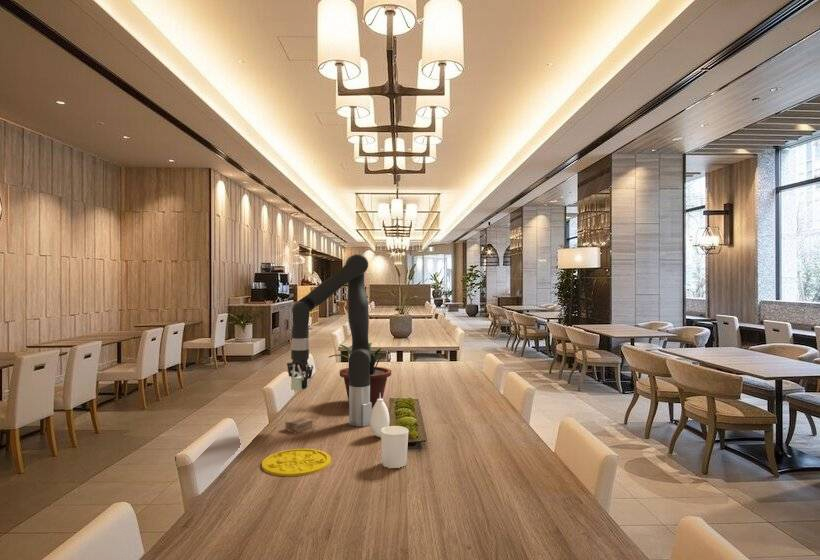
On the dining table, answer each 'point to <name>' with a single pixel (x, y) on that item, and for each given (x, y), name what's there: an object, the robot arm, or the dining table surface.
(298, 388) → the sage wooden cube
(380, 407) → the sauce bottle
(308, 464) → the decorative medallion
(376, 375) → the potted plant
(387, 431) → the candle holder
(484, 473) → the dining table surface
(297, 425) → the tan square block
